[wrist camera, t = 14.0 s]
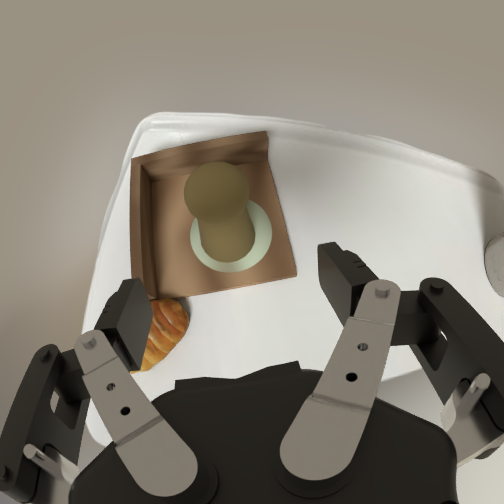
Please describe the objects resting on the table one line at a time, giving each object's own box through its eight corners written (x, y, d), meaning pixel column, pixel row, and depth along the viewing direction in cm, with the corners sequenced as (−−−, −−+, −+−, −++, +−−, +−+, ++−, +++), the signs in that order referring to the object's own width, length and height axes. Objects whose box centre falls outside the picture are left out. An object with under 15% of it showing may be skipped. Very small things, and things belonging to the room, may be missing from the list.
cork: (199, 264, 30) (171, 220, 20) (200, 212, 32) (177, 153, 22) (257, 261, 30) (256, 214, 20) (254, 209, 32) (252, 146, 22)
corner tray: (265, 156, 36) (266, 130, 31) (296, 276, 30) (303, 263, 26) (144, 180, 35) (131, 158, 30) (151, 302, 30) (132, 294, 25)
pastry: (172, 285, 31) (161, 276, 27) (204, 337, 29) (196, 336, 25) (107, 327, 29) (90, 324, 26) (135, 379, 27) (120, 382, 24)
